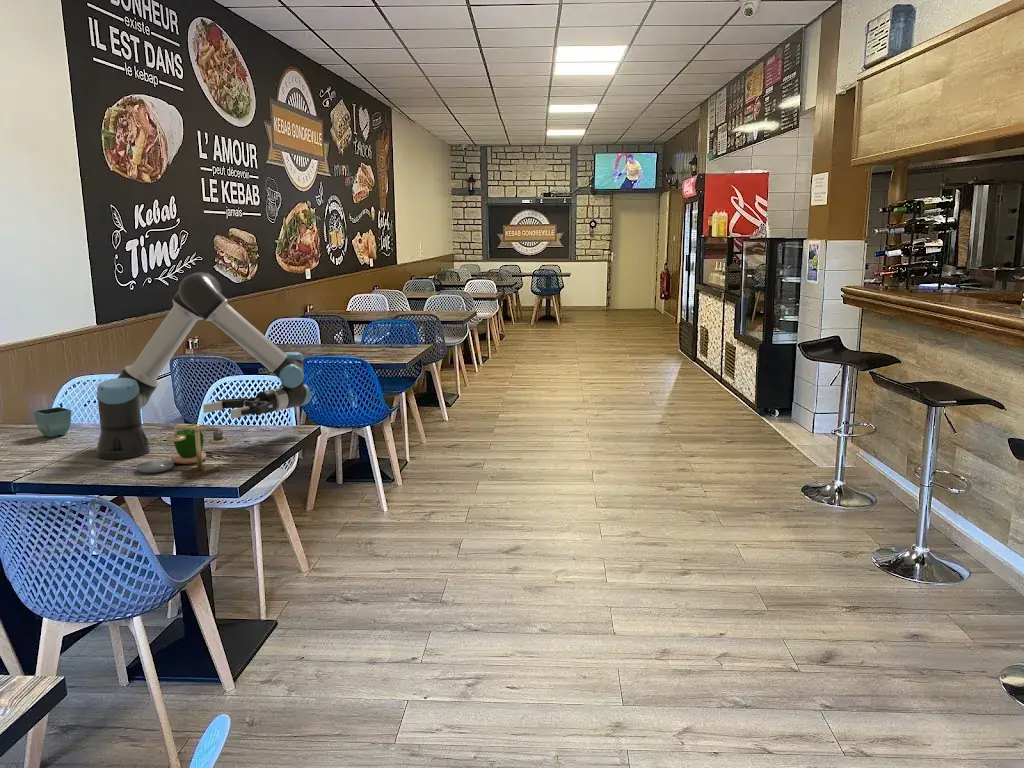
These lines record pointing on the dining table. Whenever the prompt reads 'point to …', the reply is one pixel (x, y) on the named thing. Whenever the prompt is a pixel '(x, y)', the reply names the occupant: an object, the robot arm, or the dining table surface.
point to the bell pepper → (188, 443)
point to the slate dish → (155, 466)
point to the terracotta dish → (186, 459)
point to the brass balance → (198, 449)
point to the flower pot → (53, 421)
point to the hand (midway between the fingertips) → (217, 411)
